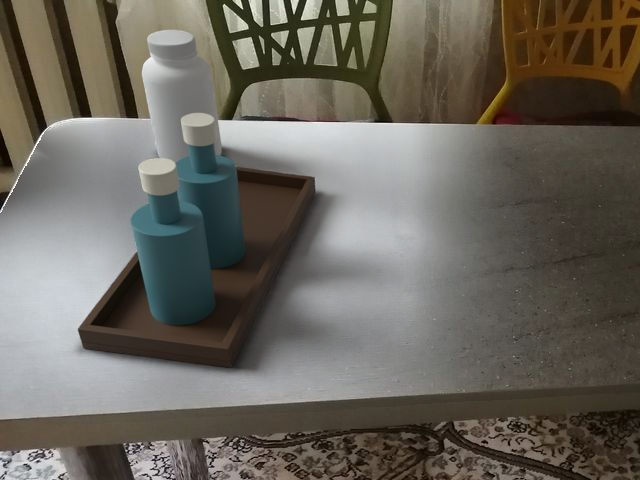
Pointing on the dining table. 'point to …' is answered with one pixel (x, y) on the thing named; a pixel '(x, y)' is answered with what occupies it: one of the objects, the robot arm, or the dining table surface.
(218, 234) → the bottle
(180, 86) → the pill bottle
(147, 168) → the bottle
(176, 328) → the tray
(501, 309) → the dining table surface
